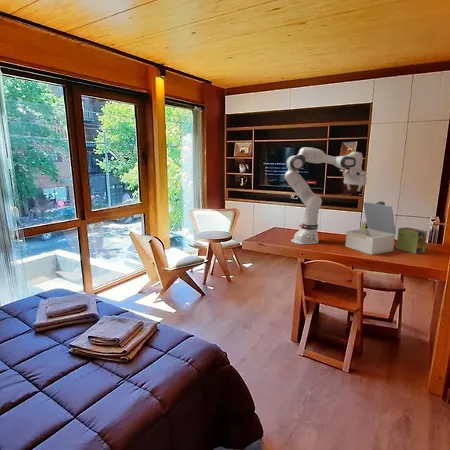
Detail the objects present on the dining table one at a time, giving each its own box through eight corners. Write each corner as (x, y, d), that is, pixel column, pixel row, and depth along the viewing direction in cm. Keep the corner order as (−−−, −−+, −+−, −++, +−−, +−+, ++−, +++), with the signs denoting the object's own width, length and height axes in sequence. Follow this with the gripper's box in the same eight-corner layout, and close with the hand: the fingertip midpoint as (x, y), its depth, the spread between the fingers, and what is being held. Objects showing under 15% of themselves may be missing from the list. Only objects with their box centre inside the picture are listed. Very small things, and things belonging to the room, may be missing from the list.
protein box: (416, 253, 228) (418, 232, 225) (395, 248, 241) (398, 228, 238) (425, 251, 233) (427, 230, 230) (404, 246, 246) (407, 226, 243)
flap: (391, 206, 226) (396, 203, 227) (363, 202, 247) (368, 199, 249) (394, 234, 233) (400, 231, 235) (367, 228, 254) (372, 225, 256)
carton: (371, 254, 226) (372, 238, 223) (345, 246, 247) (346, 231, 245) (393, 250, 235) (394, 234, 233) (366, 243, 256) (367, 228, 254)
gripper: (342, 172, 262) (341, 189, 264) (362, 173, 243) (361, 191, 246) (348, 172, 264) (346, 189, 267) (368, 173, 246) (367, 191, 249)
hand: (353, 190), depth 256 cm, fingers open, 8 cm apart
